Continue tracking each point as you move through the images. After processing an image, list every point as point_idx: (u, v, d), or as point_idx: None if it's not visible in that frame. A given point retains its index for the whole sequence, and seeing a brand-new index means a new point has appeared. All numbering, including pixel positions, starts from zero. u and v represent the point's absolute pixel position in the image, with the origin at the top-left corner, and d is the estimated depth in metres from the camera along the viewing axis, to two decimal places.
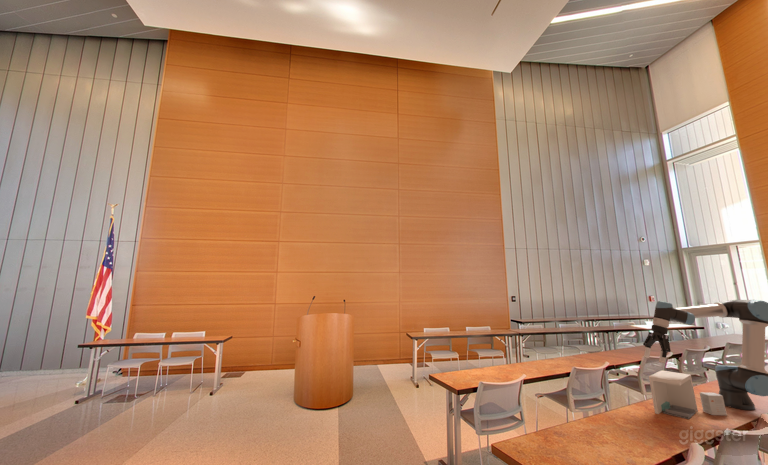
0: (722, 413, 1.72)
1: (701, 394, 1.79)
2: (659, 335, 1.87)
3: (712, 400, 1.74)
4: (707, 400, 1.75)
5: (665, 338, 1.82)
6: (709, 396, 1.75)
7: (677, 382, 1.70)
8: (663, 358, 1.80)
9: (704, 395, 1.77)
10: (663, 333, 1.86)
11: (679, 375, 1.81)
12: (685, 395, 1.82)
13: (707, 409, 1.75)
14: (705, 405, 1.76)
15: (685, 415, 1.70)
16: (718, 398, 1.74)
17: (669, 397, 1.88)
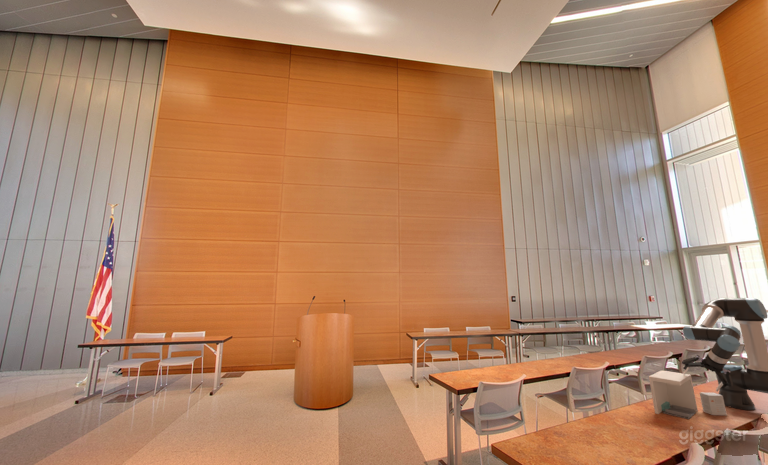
0: (722, 413, 1.72)
1: (701, 394, 1.79)
2: (718, 369, 1.67)
3: (712, 400, 1.74)
4: (707, 400, 1.75)
5: (729, 375, 1.65)
6: (709, 396, 1.75)
7: (677, 382, 1.70)
8: None
9: (704, 395, 1.77)
10: (723, 367, 1.66)
11: (679, 375, 1.81)
12: (685, 395, 1.82)
13: (707, 409, 1.75)
14: (705, 405, 1.76)
15: (685, 415, 1.70)
16: (718, 398, 1.74)
17: (669, 397, 1.88)
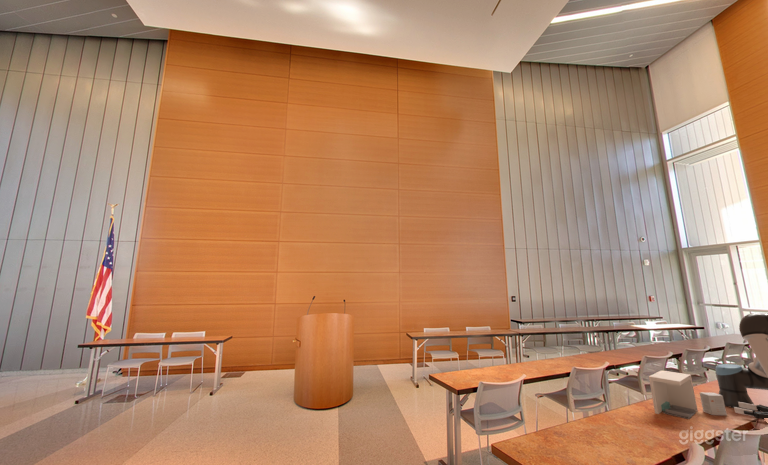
0: (722, 413, 1.72)
1: (701, 394, 1.79)
2: None
3: (712, 400, 1.74)
4: (707, 400, 1.75)
5: None
6: (709, 396, 1.75)
7: (677, 382, 1.70)
8: None
9: (704, 395, 1.77)
10: None
11: (679, 375, 1.81)
12: (685, 395, 1.82)
13: (707, 409, 1.75)
14: (705, 405, 1.76)
15: (685, 415, 1.70)
16: (718, 398, 1.74)
17: (669, 397, 1.88)
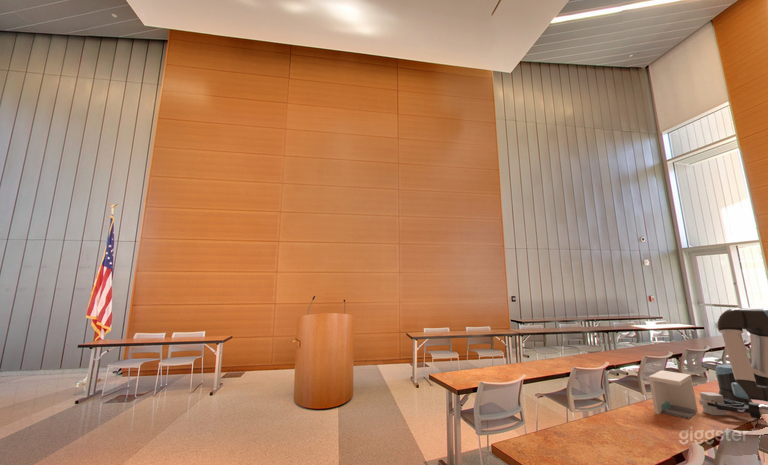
0: (722, 413, 1.72)
1: (701, 394, 1.79)
2: None
3: (712, 400, 1.74)
4: (707, 400, 1.75)
5: None
6: (709, 396, 1.75)
7: (677, 382, 1.70)
8: None
9: (704, 395, 1.77)
10: None
11: (679, 375, 1.81)
12: (685, 395, 1.82)
13: (707, 409, 1.75)
14: None
15: (685, 415, 1.70)
16: (718, 398, 1.74)
17: (669, 397, 1.88)
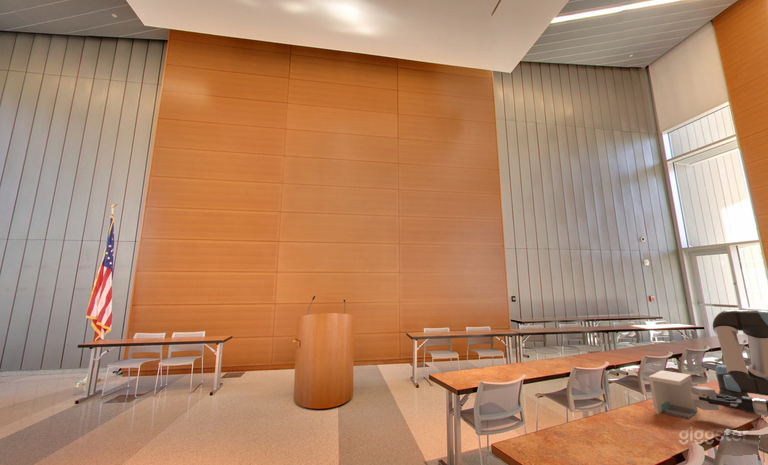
0: (714, 408, 1.65)
1: (693, 388, 1.71)
2: None
3: (704, 394, 1.67)
4: (699, 394, 1.68)
5: None
6: (701, 390, 1.67)
7: (677, 382, 1.70)
8: None
9: (696, 389, 1.69)
10: None
11: (679, 375, 1.81)
12: (685, 395, 1.82)
13: (698, 404, 1.68)
14: None
15: (685, 415, 1.70)
16: (710, 393, 1.66)
17: (669, 397, 1.88)
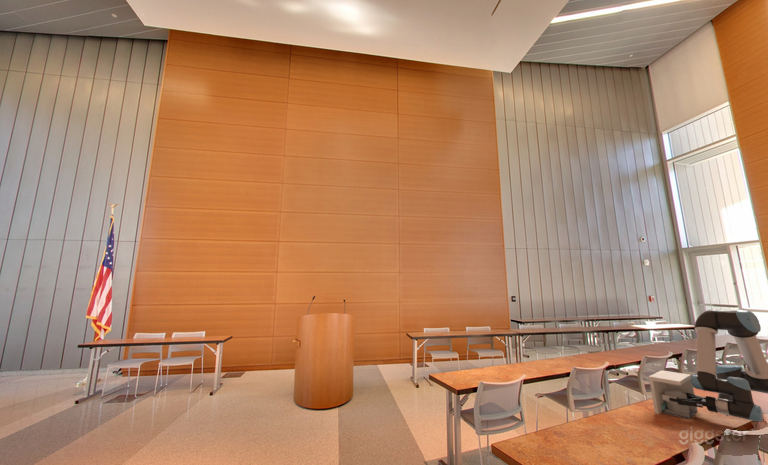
0: (685, 411, 1.74)
1: (666, 393, 1.80)
2: None
3: None
4: None
5: None
6: (674, 395, 1.76)
7: (677, 382, 1.70)
8: None
9: (669, 394, 1.78)
10: None
11: (679, 375, 1.81)
12: None
13: (671, 407, 1.77)
14: (670, 403, 1.77)
15: (685, 415, 1.70)
16: (682, 397, 1.75)
17: None
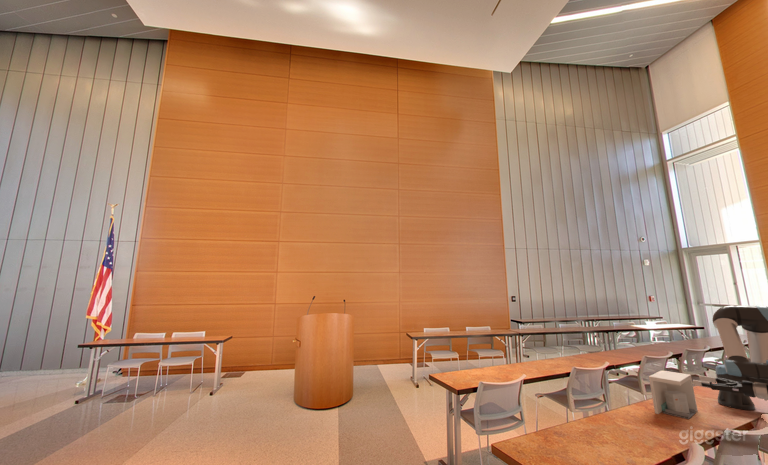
0: (685, 411, 1.74)
1: (666, 393, 1.80)
2: None
3: (676, 399, 1.75)
4: (672, 399, 1.76)
5: None
6: (674, 395, 1.76)
7: (677, 382, 1.70)
8: None
9: (669, 394, 1.78)
10: None
11: (679, 375, 1.81)
12: None
13: (671, 407, 1.77)
14: (670, 403, 1.77)
15: (685, 415, 1.70)
16: (682, 397, 1.76)
17: None
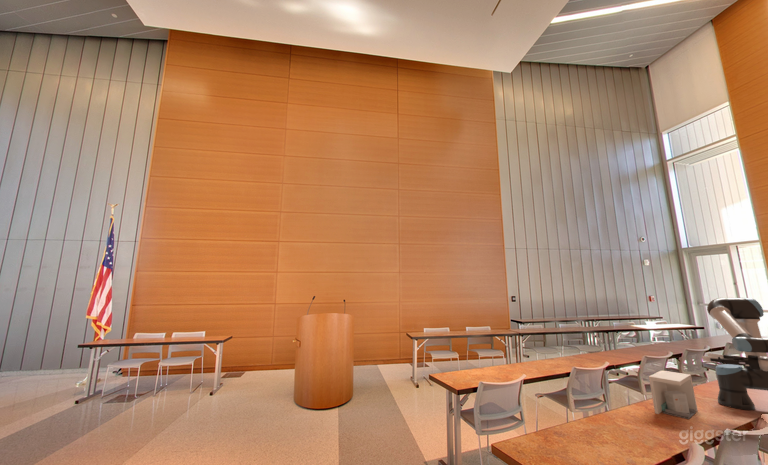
0: (685, 411, 1.74)
1: (666, 393, 1.80)
2: None
3: (676, 399, 1.75)
4: (672, 399, 1.76)
5: None
6: (674, 395, 1.76)
7: (677, 382, 1.70)
8: None
9: (669, 394, 1.78)
10: None
11: (679, 375, 1.81)
12: None
13: (671, 407, 1.77)
14: (670, 403, 1.77)
15: (685, 415, 1.70)
16: (682, 397, 1.76)
17: None
